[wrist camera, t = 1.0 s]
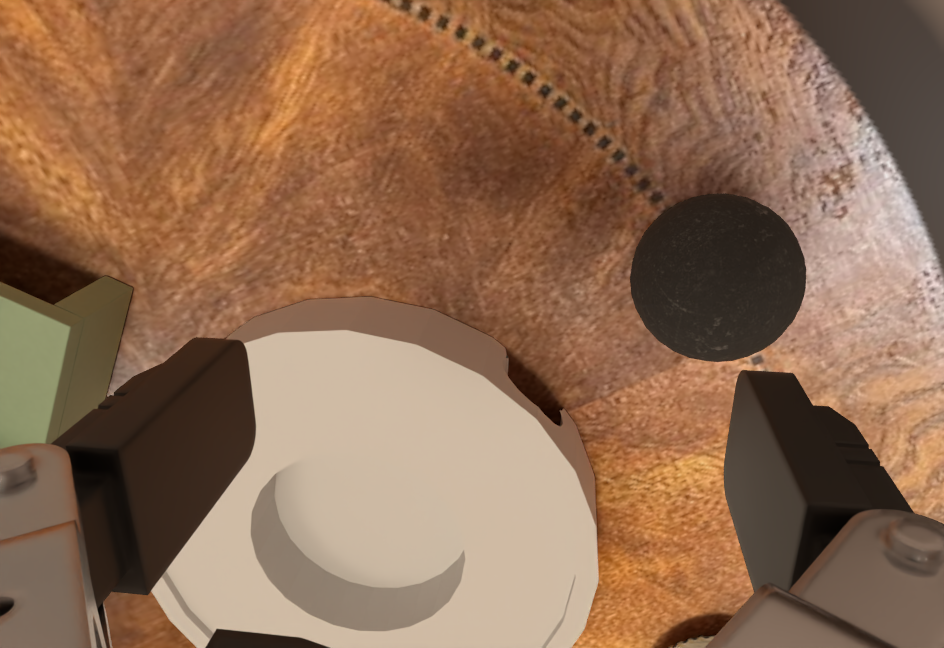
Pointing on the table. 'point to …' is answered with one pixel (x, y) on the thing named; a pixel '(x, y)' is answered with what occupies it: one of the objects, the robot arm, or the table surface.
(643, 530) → the table surface
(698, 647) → the seashell
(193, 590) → the beige round base
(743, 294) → the light bulb
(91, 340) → the bench
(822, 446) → the robot arm
